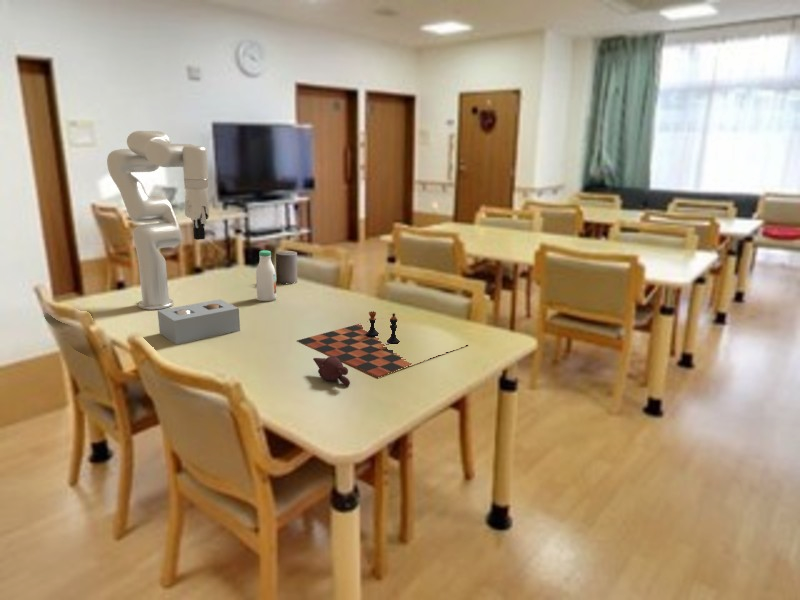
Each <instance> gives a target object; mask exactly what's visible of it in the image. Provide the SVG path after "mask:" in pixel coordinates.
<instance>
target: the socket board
mask: <svg viewBox="0 0 800 600" xmlns="http://www.w3.org/2000/svg"><path fill="white" fill-rule="evenodd" d="M209 304H219V308H217V309H211V310H208V309H207V305H209ZM180 309H190V312H191V313H190V314H185V315H180V316H179V315H178V313H177V311H178V310H180ZM157 319H158V329H159V334H160V335H161V336H163V337H165V338H166V339H167V340H169V341H170V342H172V343H173V344H175V346H177V345H182V344H186V343H190V342H191V343H192V342H194V341H199V340H205V339H208V338H213V337H218V336H223V335H227V334H231V332H232V333H236V332H239V331H241V327H240V326H241V324H240V308H239V307H237V306H235V305H233V304H231V303H229V302H227V301H224V300H222V299H221V298H220V299H214V300H207V301H204V302H198V303H193V304H188V305H187V304H186V305H180V306H175V307H168V308H163V309H157ZM226 333H227V334H226Z"/></svg>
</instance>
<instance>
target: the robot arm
mask: <svg viewBox="0 0 800 600" xmlns="http://www.w3.org/2000/svg"><path fill="white" fill-rule="evenodd" d="M126 144H127V147H128V148H121V149H116V150H115V149H114V150H112V151H111V152H110V153H108V155H107V158H106V165H107V170H108V172H109V173H108V174H109V176H110V178H111V179H112V181H113V183H114V184H115V185H116V187H117V188H118V191H119V192H120V195H121V198H122V200H123V203H124V206H125V208H126V211H127V214H128V216H129V219H130V220H131V221H132V222H134V223H137V224H140V223H141V225H138V226H136V227H135V228H134V229H133V230H132V240H133V243H134V247H135V250H136V251H135V252H136V256H137V261H138V262H137V263H138V269H139V270H138V271H139V280H140V290H141V291H140V292H141V299H142V301H139V302H138V308H140V309H143V310H151V311H152V310H153V311H154V310H163V309H168V308H171V307H172V306H173V305H174V303H175V302H174V300H173V299H172V298H171V299H170V296H169V285H168V275H167V262H166V259H165V256H163V254H162V253H161V252H160V249H163V248H164V249H165V248H170V247H177V246H179V245H180V244H181V242H182V240H183V234H182V230H181V227H180V224H179V222H178V219H177V217H176V214H175V210H174V208H173V206H172V204H171V202H170V200H169V199H167V198H166V197H164V196H162V195H156V196H150V195H148V193H147V192H146V189H145V186H144V184H143V183H142V182H141V181H140V180H139V179H138V178H137V177H135V176H134V175H133V174H132V173H151V172H155V171H157V170H158V169H159V168H160V167H161V168H182V169H183V182H184V183H183V185H184V189H185V191H184V215H185V217H187V218H189V219H191V222H192V228H193V229H192V230H193V231H192V232H193V239H194V240H199V241H200V240H205V238H206V234H205V227H206V226H205V225H206V224H207V220H208V219H210V204H209V195H208V190H209V170H208V154H207V148H206V147H205V146H201V145H195V144H194V145H193V144H191V143H171V139H170V138H169V136H168V134H166V133H165V132H162V131H160V130H159V131H157V130H154V131H153V130H152V131H151V130H136V131H132V132H131V133H129V135H128V136H127V137H126ZM153 222H154V223H153ZM142 223H144V224H142Z"/></svg>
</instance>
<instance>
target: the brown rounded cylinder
mask: <svg viewBox="0 0 800 600" xmlns="http://www.w3.org/2000/svg"><path fill="white" fill-rule="evenodd" d="M217 308H219V304H209V305H207V309H208V310H211V309H217Z"/></svg>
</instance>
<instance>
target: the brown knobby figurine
mask: <svg viewBox="0 0 800 600" xmlns="http://www.w3.org/2000/svg"><path fill="white" fill-rule="evenodd" d="M313 362H314V363H315V364H316V366H317V368H318V370H317V373H318V374H319V377H320V378H321V379H322V380H323V381H324V380H325V379H326V381H329V382H330V381H332V382H333V381H334V382H335V381H337V380H339V381H340V382H341V384H343V385H344V386H346V387H348V386H350V385H351V381H350V379H349V378H348V377H347V375H348V374H349V369H348V367H346V366H344V364H343V362H341V361H340V360H339V359H338V358H337V357H335V356H332V357H330V356H328V357H327V358H325V357H324V358H323V357H313Z"/></svg>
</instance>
